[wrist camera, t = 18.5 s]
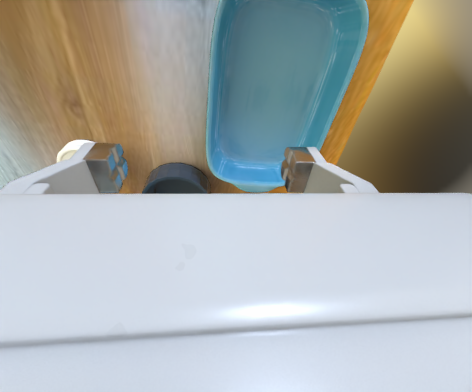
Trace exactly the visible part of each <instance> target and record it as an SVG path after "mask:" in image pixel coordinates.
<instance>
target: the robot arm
mask: <svg viewBox="0 0 472 392" xmlns="http://www.w3.org/2000/svg"><path fill="white" fill-rule="evenodd" d="M122 154H123V149H122V146H121V145H120V144H115V143H84V144H83V145H82V146H81V147H80V148H79V149H78V150H77V151H76V152H75V154H74V155H73V156H72V157H71V158H70V159H69V160H63V161H61V162H58V163H56V164H53V165H51V166H48V167H46V168H43V169H41V170H38V171H36V172H33V173H31V174H28V175H26V176H23V177H21V178H18V179H16V180H13V181H11V182H8V183H7V184H6V185H5V186H4V187H3V188H2V189H0V392H472V194H468V193H379V192H378V191H377V190H376V188H375V187H374V186H373V185H372V184H371V183H369V182H367V181H365V180H363V179H361V178H359V177H357V176H355V175H353V174H351V173H349V172H347V171H345V170H343V169H341V168H339V167H337V166H335V165H333V164H331V163H327V162H326V161H325V159H324V158H323V156H322V155H321V154H320V152H319V151H318V149H317V148H316V147H286V149H285V151H284V156H285V160H284V161H283V162H282V165H281V177H282V179H283V180H285V187H286V189H287V192H290V193H264V194H100V193H119V191H120V189H121V187H122V185H123V183H122V180H124V179H125V178H126V176H127V173H128V166H127V162H126V160H125V159H124V158H123V157H122Z"/></svg>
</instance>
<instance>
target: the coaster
mask: <svg viewBox="0 0 472 392" xmlns="http://www.w3.org/2000/svg"><path fill="white" fill-rule="evenodd" d="M84 143H95V142H92V141H88V140H75V141H72V142H69V143H68V144H67V145H66V146H65V147H64V148H63V149H62V150H61V151H60V152H59V153H58V156H57V163H58V162H61V161H63V160H69V159H70V158H71V157H72V156H73V155H74V154H75V152H76V151H77V150H78V149H79V148H80V147H81V146H82V145H83V144H84Z"/></svg>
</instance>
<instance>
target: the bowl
mask: <svg viewBox="0 0 472 392" xmlns="http://www.w3.org/2000/svg"><path fill="white" fill-rule="evenodd" d="M142 194H211V186H210V183H209V181H208V179H207V177H206V176H205V175H204V174H203V173H202V172H201V171H199V170H198V169H196V168H194V167H193V166H190V165H186V164H183V163H169V164H165V165H161V166H159V167H158V168H156V169H154V170H153V171H152V172H151V173H150V175H149V176H148V178H147V180H146V183H145V186H144V189H143V191H142Z"/></svg>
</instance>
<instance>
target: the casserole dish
mask: <svg viewBox="0 0 472 392" xmlns="http://www.w3.org/2000/svg"><path fill="white" fill-rule="evenodd" d="M368 25H369V13H368V7H367V3H366V1H365V0H220V1H219V4H218V7H217V10H216V15H215V19H214V25H213V31H212V40H211V50H210V64H209V82H208V102H207V121H206V157H207V163H208V166H209V169H210V170H211V172H212V173H213V175H214V176H216V177H217V178H218V179H220V180H223V181H225V182H228V183H232V184H233V185H235V186H236V187H237V188H239V189H241V190H243V191H246V192H256V193H258V192H267V191H270V190H273V189H275V188H277V187H280V186H285V180H283V179H282V177H281V165H282V162H283V161H284V160H285V156H284V151H285V149H286V147H316V148H317V149H318V151H320V149H321V147H322V145H323V143H324V140H325V138H326V136H327V133H328V131H329V129H330V126H331V124H332V122H333V120H334V117H335V115H336V113H337V110H338V108H339V106H340V104H341V101H342V99H343V97H344V95H345V92H346V90H347V88H348V85H349V83H350V81H351V78H352V76H353V74H354V71H355V69H356V66H357V64H358V61H359V58H360V56H361V53H362V50H363V47H364V44H365V40H366V37H367V32H368Z"/></svg>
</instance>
